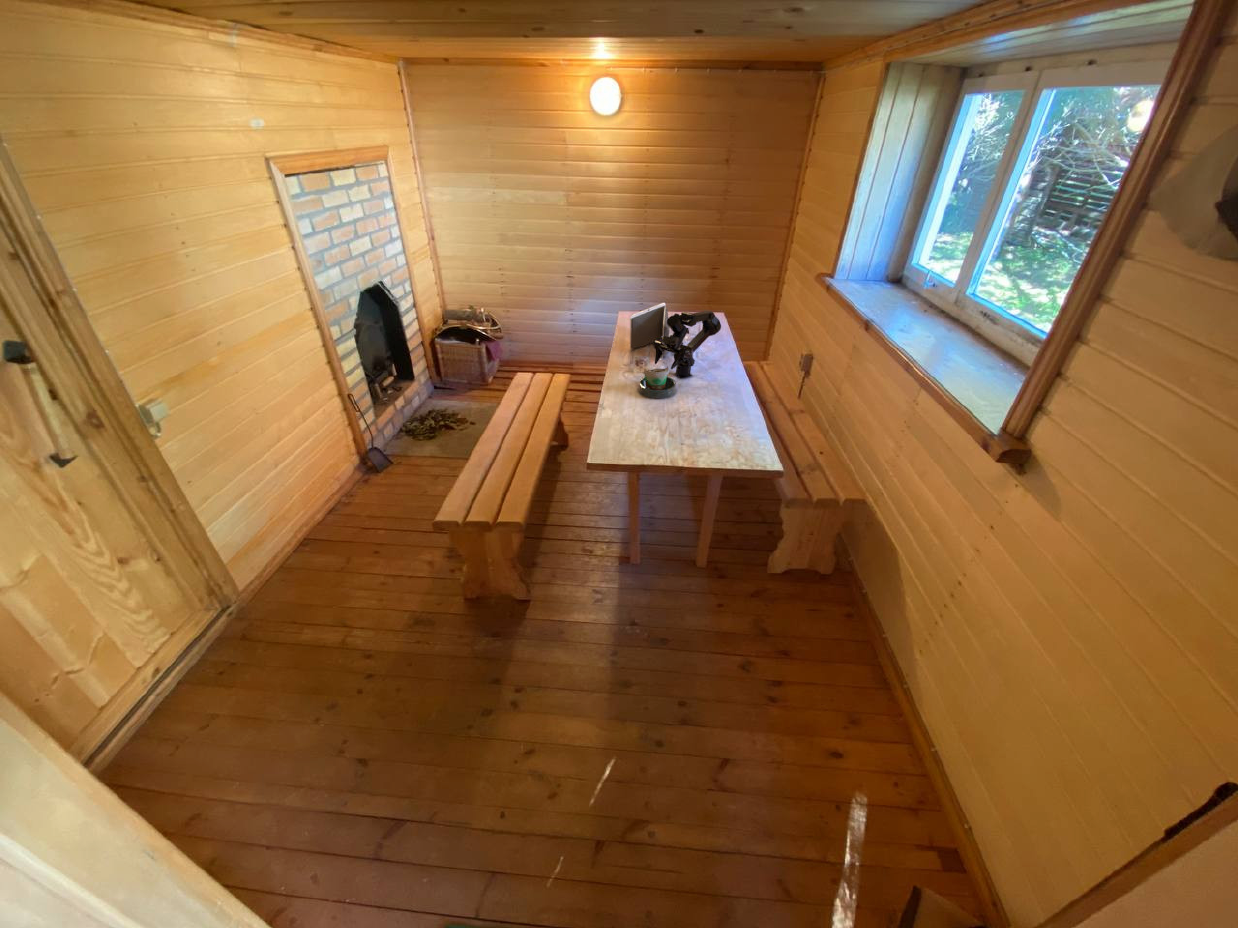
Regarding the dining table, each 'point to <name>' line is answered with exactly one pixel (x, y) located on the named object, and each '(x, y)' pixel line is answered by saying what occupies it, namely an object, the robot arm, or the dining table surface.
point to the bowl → (667, 392)
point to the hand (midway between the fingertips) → (663, 366)
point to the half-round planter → (656, 378)
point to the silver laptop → (649, 326)
